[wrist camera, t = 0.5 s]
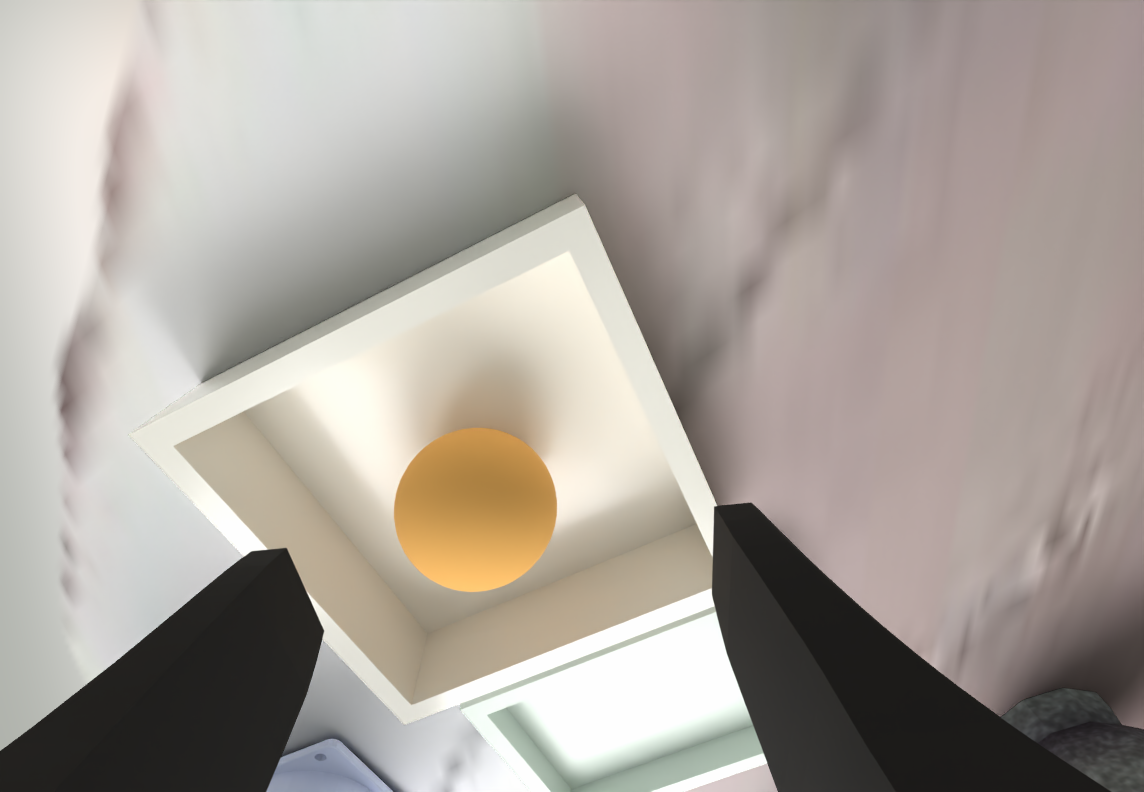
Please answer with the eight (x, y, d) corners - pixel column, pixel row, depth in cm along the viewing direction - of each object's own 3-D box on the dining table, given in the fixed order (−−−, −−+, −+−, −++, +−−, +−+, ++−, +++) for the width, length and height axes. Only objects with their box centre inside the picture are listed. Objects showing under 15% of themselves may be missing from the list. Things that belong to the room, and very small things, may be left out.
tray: (563, 792, 28) (565, 831, 26) (465, 671, 24) (459, 709, 23) (827, 699, 26) (846, 736, 25) (767, 552, 22) (785, 585, 21)
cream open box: (422, 646, 23) (404, 725, 20) (200, 383, 18) (128, 434, 15) (722, 525, 22) (754, 590, 18) (575, 193, 16) (585, 204, 13)
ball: (458, 541, 21) (436, 651, 16) (384, 438, 19) (335, 531, 14) (577, 490, 20) (589, 590, 16) (514, 377, 18) (506, 455, 14)
